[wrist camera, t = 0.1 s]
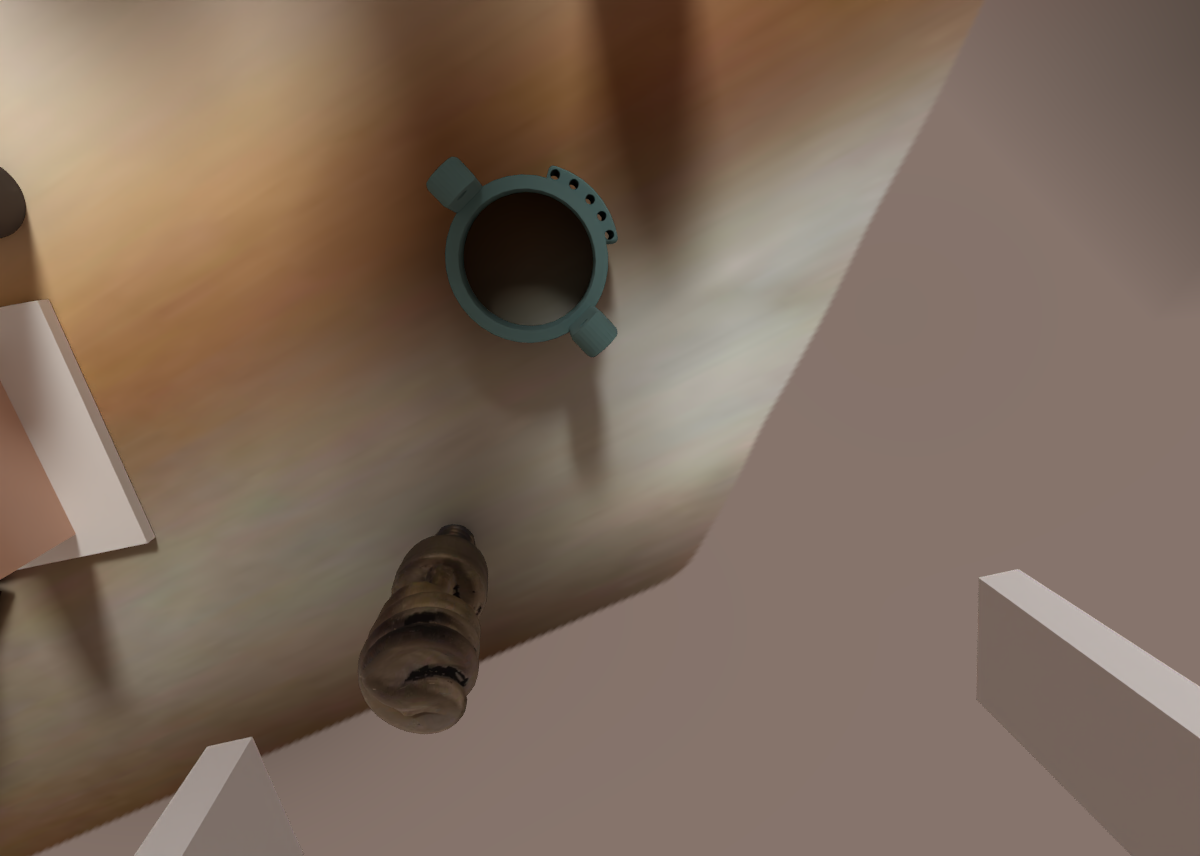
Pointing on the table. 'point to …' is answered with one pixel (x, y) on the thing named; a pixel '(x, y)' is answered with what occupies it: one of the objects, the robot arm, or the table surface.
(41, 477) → the tile
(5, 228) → the tool handle
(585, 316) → the bracket
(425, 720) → the light bulb
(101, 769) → the table surface
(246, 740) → the robot arm
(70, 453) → the board
